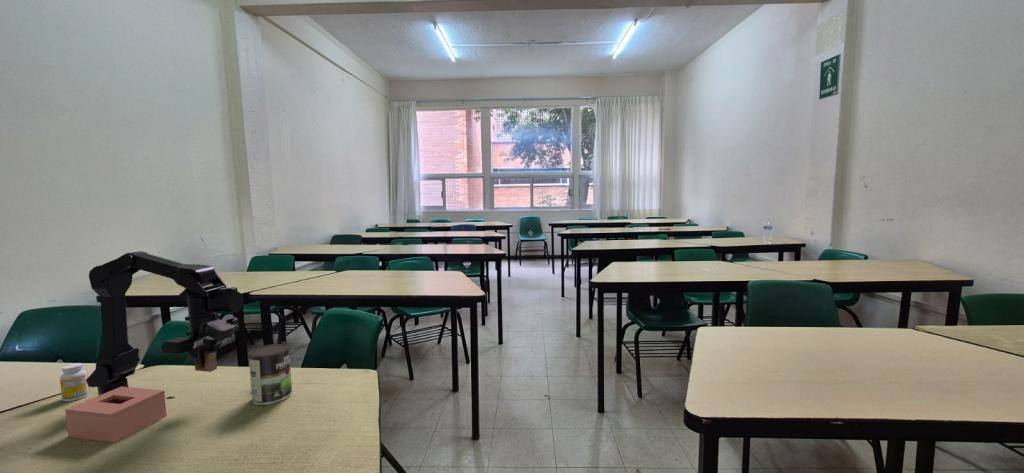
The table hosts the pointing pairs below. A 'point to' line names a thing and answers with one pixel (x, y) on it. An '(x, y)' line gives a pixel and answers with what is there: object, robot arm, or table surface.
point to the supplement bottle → (73, 382)
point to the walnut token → (208, 362)
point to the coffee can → (270, 373)
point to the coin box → (115, 414)
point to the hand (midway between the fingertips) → (205, 366)
